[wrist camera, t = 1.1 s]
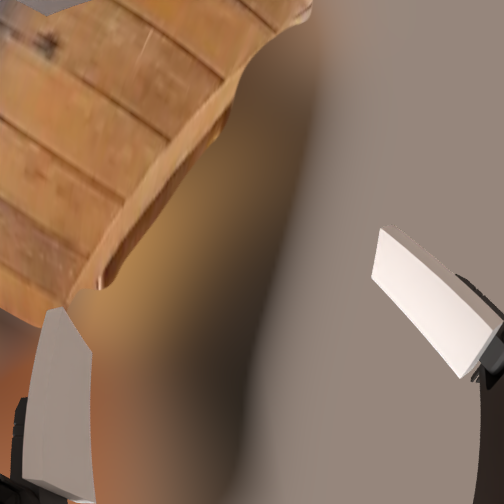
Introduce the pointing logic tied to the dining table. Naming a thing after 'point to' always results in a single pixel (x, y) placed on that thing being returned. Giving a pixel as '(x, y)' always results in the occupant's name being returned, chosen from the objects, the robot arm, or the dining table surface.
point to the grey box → (51, 5)
